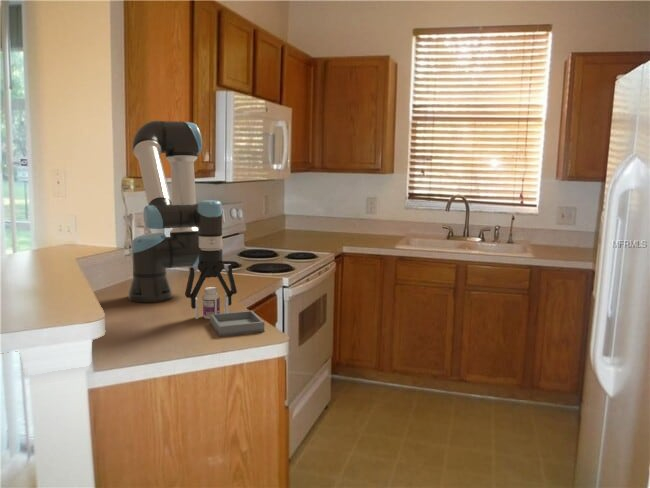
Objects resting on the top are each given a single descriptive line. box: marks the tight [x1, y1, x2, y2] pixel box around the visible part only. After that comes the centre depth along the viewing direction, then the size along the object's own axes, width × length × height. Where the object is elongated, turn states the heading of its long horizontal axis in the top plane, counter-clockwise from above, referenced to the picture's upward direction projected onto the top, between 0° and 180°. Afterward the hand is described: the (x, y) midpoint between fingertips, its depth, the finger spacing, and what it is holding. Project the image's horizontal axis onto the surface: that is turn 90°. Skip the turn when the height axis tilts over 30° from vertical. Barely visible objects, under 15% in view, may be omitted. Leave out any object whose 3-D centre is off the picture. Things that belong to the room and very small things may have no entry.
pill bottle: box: [202, 286, 221, 320], centre depth 183 cm, size 5×5×10 cm
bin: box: [209, 310, 265, 337], centre depth 173 cm, size 14×14×3 cm
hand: (211, 316), depth 184 cm, fingers open, 9 cm apart
